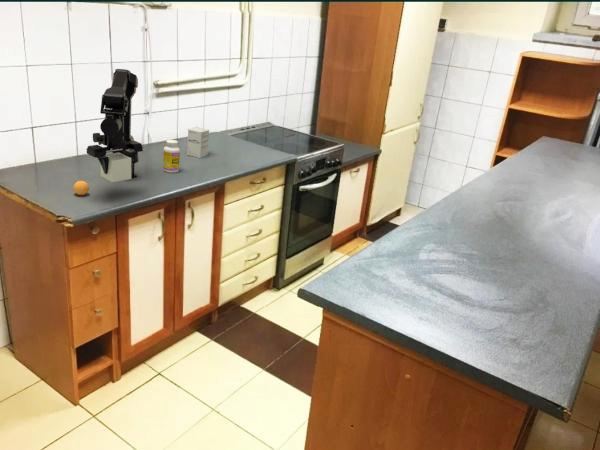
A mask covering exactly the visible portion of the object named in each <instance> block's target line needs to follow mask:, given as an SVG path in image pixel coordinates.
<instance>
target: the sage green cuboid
mask: <svg viewBox="0 0 600 450" xmlns="http://www.w3.org/2000/svg"><path fill="white" fill-rule="evenodd" d="M106 156H107V157H109V160H108V172H107V174H105V173H104V171H103V168H102V166H101V164H100V177H102V178H103V179H105V180H107V181H109V182H111V183H116V182H122V181H128V180H132V178H131V158H130V157H128V156H126V155H124V154H121V153H112V152H111V153H106Z"/></svg>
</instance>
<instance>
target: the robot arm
mask: <svg viewBox="0 0 600 450" xmlns="http://www.w3.org/2000/svg"><path fill="white" fill-rule="evenodd" d="M112 76H113V77H112V84H111V86H110V87H107V88H106V89H105V91H104V93H103V94H101V102H100V103H101V104H100V110H99V111H100V112H99V113H100V114H102V115H104V119H103V120H102V121H101V123H100V125H99V126H100V127H99V128H100V131H101V132H102V134H101V133H100V132H93V133H92V141H93V143H94V144H93V145H88V146H87V148H86V154H87V155H88V156H90V157H93V158H96V159H97V160H98V161H99V163H100V164H101V166H102V168H103V171H104V173H105V174H107V172H108V160H109V157H107V156H106V154H108V153H111V154H112V153H121V154H124V155H126V156H128V157H130V158H131V179H132V178H137V176H138V175H137V174H135V164H137V163H139V152H140V153H141V152H143V151H144V146H143V144H142V143H141V142H139V141H137V140H135V139H134V140H132V138H131V136H132V133H131V132H132V131H131V130H132V127H131V126H132V98H134V96H135V94H137V89H138V88H139V87H138V86H139V79H138V76H137V75H136V74H134V73H132V72H131V70H129V69H125V68H115V69H114V72H113V73H112ZM95 143H98V144H95ZM101 145H102V146H101Z"/></svg>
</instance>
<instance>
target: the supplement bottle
mask: <svg viewBox="0 0 600 450" xmlns="http://www.w3.org/2000/svg"><path fill="white" fill-rule="evenodd" d="M165 142H166V143H165V145H166V146H164V147H163V157H162V161H163V162H162V163H163V164H162V169H163V172H166V173H169V174H170V173H177V172H179V171H180V157H181V156H180V155H181V149H180V148H179V147H178V144H179V141H178V140H176V139H167V140H166V141H165Z"/></svg>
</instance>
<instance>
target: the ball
mask: <svg viewBox="0 0 600 450" xmlns="http://www.w3.org/2000/svg"><path fill="white" fill-rule="evenodd" d="M89 190H90V187H89V184H88V183H87V182H86V181H84V180H78V181H76V182H75V183H74V184H73V191H74V193H75V194H76V195H79V196H84V195H86V194H88V192H89Z"/></svg>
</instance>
